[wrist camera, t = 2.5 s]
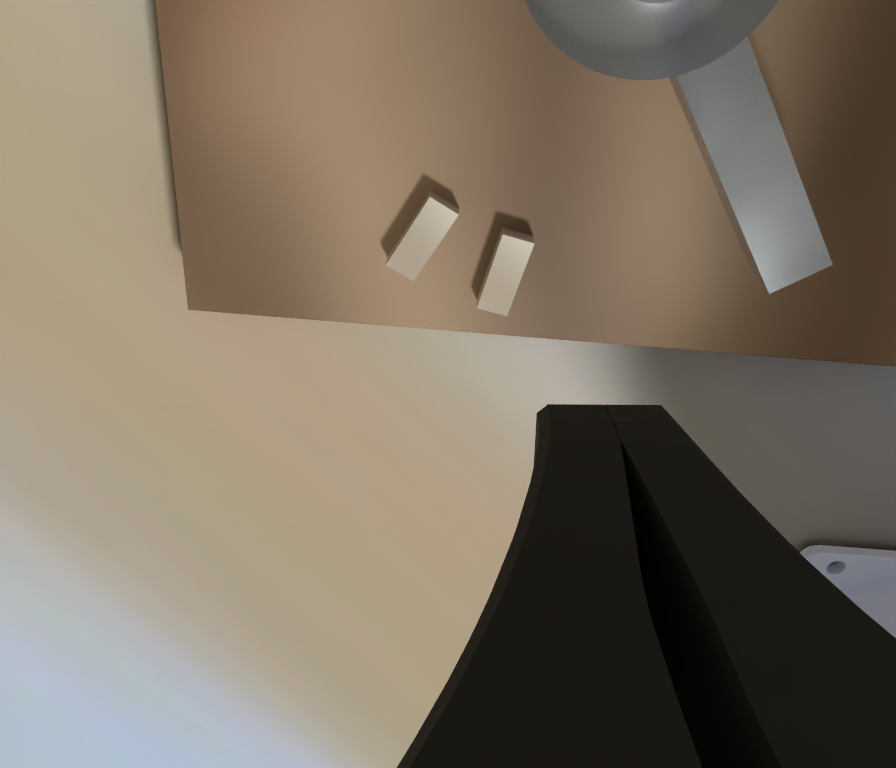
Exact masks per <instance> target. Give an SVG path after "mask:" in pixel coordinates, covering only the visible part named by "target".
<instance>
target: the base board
mask: <svg viewBox="0 0 896 768" xmlns="http://www.w3.org/2000/svg"><path fill="white" fill-rule="evenodd" d="M155 5H156V14H157V24H158V33H159V42H160V52H161V61H162V70H163V79H164V89H165V98H166V107H167V117H168V126H169V135H170V144H171V154H172V163H173V172H174V182H175V191H176V200H177V209H178V219H179V228H180V237H181V247H182V256H183V265H184V274H185V284H186V293H187V302H188V310H198V311H211V312H223V313H236V314H248V315H261V316H273V317H286V318H298V319H311V320H323V321H336V322H348V323H360V324H373V325H385V326H398V327H410V328H423V329H435V330H448V331H460V332H473V333H485V334H498V335H510V336H522V337H535V338H547V339H560V340H572V341H585V342H597V343H610V344H622V345H635V346H647V347H660V348H672V349H684V350H697V351H709V352H722V353H734V354H747V355H759V356H772V357H784V358H797V359H809V360H822V361H834V362H846V363H859V364H871V365H884V366H896V0H779V1H778V2H777V4H776V5H775V6H774V8H773V9H772V10H771V12H770V13H769V14H768V16H767V17H766V18H765V19H764V20H763V21H762V22H761V23H760V25H759V26H758V27H757V28H756V29H755V30H754V31H753V32H752V33H751V34H750V35H749V36H748V38H749V41H750V44H751V46H752V49H753V52H754V54H755V57H756V60H757V62H758V65H759V68H760V70H761V73H762V76H763V79H764V81H765V84H766V87H767V89H768V92H769V95H770V97H771V100H772V103H773V105H774V108H775V111H776V113H777V116H778V119H779V122H780V124H781V127H782V130H783V132H784V135H785V138H786V140H787V143H788V146H789V148H790V151H791V154H792V156H793V159H794V162H795V164H796V167H797V170H798V173H799V175H800V178H801V181H802V183H803V186H804V189H805V191H806V194H807V197H808V199H809V202H810V205H811V207H812V210H813V213H814V216H815V218H816V221H817V224H818V226H819V229H820V232H821V234H822V237H823V240H824V242H825V245H826V248H827V250H828V253H829V256H830V258H831V261H832V264H833V265H832V266H829V267H827V268H825V269H823V270H821V271H819V272H816V273H814V274H812V275H810V276H808V277H805V278H803V279H801V280H799V281H797V282H795V283H792V284H790V285H788V286H786V287H784V288H781V289H779V290H777V291H775V292H773V293H771V294H769V293H768V292H767V290H766V289H765V287H764V286H763V284H762V283H761V281H760V280H759V278H758V277H757V275H756V274H755V272H754V271H753V269H752V268H751V266H750V265H749V263H748V261H747V259H746V256H745V254H744V252H743V249H742V247H741V245H740V242H739V240H738V238H737V235H736V233H735V231H734V228H733V226H732V224H731V221H730V219H729V217H728V214H727V212H726V210H725V208H724V205H723V203H722V201H721V198H720V196H719V194H718V191H717V189H716V187H715V184H714V182H713V180H712V177H711V175H710V173H709V170H708V168H707V166H706V163H705V161H704V159H703V156H702V154H701V152H700V149H699V147H698V145H697V142H696V140H695V138H694V136H693V133H692V131H691V129H690V126H689V124H688V122H687V119H686V117H685V115H684V112H683V110H682V108H681V105H680V103H679V101H678V98H677V96H676V94H675V91H674V89H673V87H672V84H671V82H670V80H669V78H664V79H655V80H628V79H622V78H615V77H611V76H608V75H605V74H601V73H598V72H596V71H593V70H591V69H589V68H587V67H585V66H583V65H581V64H579V63H578V62H576V61H575V60H573V59H572V58H570V57H569V56H567V55H566V54H565V53H564V52H562V51H561V50H560V49H559V48H558V47H557V46H556V45H555V44H553V43H552V41H551V40H550V39H549V38H548V37H547V36H546V34H545V33H544V32H543V31H542V30H541V28H540V27H539V25H538V24H537V22H536V20H535V19H534V17H533V16H532V14H531V12H530V10H529V8H528V6H527V4H526V2H525V0H155Z"/></svg>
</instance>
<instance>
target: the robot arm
mask: <svg viewBox="0 0 896 768" xmlns="http://www.w3.org/2000/svg"><path fill="white" fill-rule="evenodd" d="M835 561H838V562H836V563H834V564H830V563H832V562H835ZM397 768H896V551H893V550H879V549H866V548H853V547H840V546H827V545H812V546H809V547H807V548H805V549H804V550H802V551H801V552H800V553H799V552H798V551H797V550H796V549H795V548H794V547H793V546H792V545H791V544H790V543H789V542H788V541H787V540H786V539H785V538H784V537H783V536H782V535H781V534H780V533H779V532H778V531H777V530H776V529H775V528H774V527H773V526H772V525H771V524H770V523H769V522H768V521H767V520H766V519H765V518H764V517H763V516H762V515H761V514H760V513H759V511H758V510H757V509H756V508H755V507H754V506H753V505H752V504H751V503H750V502H749V501H748V500H747V499H746V498H745V497H744V496H743V495H742V494H741V493H740V492H739V491H738V490H737V489H736V487H735V486H734V485H733V484H732V483H731V482H730V481H729V480H728V479H727V478H726V477H725V476H724V474H723V473H722V472H721V471H720V470H719V469H718V468H717V467H716V466H715V465H714V463H713V462H712V461H711V460H710V459H709V458H708V457H707V456H706V455H705V453H704V452H703V451H702V450H701V449H700V448H699V447H698V446H697V445H696V443H695V442H694V441H693V440H692V439H691V438H690V437H689V436H688V434H687V433H686V432H685V431H684V430H683V429H682V428H681V427H680V425H679V424H678V423H677V422H676V421H675V420H674V419H673V418H672V417H671V416H670V415H669V413H668V412H667V411H666V410H665V409H664V408H663V407H662V406H661V405H553V404H548V405H547V406H545V407H544V408H543V409H542V410H540V411H539V412H538V413H537V420H536V438H535V455H534V469H533V473H532V478H531V482H530V486H529V489H528V492H527V496H526V499H525V502H524V505H523V509H522V512H521V515H520V519H519V522H518V525H517V528H516V531H515V534H514V537H513V540H512V542H511V545H510V547H509V550H508V552H507V555H506V557H505V560H504V562H503V565H502V567H501V570H500V572H499V575H498V577H497V579H496V582H495V584H494V587H493V589H492V592H491V594H490V597H489V599H488V601H487V603H486V605H485V608H484V610H483V612H482V614H481V616H480V618H479V621H478V623H477V625H476V627H475V629H474V631H473V633H472V635H471V637H470V639H469V641H468V643H467V645H466V647H465V649H464V651H463V653H462V655H461V657H460V659H459V661H458V663H457V664H456V666H455V668H454V670H453V672H452V674H451V676H450V678H449V680H448V681H447V683H446V685H445V687H444V689H443V690H442V692H441V694H440V695H439V697H438V699H437V701H436V702H435V704H434V706H433V708H432V709H431V711H430V713H429V715H428V716H427V718H426V720H425V722H424V723H423V725H422V727H421V729H420V730H419V732H418V734H417V736H416V737H415V739H414V741H413V742H412V744H411V746H410V747H409V749H408V750H407V752H406V754H405V755H404V757H403V759H402V760H401V762H400V763H399V765H398V767H397Z"/></svg>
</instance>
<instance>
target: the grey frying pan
mask: <svg viewBox="0 0 896 768" xmlns="http://www.w3.org/2000/svg"><path fill="white" fill-rule="evenodd" d="M778 1H779V0H525V2H526V4H527V6H528V8H529V10H530V12H531V14H532V16H533V17H534V19H535V20H536V22H537V24H538V25H539V27H540V28H541V30H542V31H543V32H544V33H545V34H546V36H547V37H548V38H549V39H550V40H551V41H552V43H553V44H555V45H556V46H557V47H558V48H559V49H560V50H561V51H562V52H564V53H565V54H566V55H567V56H569V57H570V58H572V59H573V60H575V61H576V62H578V63H579V64H581V65H583V66H585V67H587V68H589V69H591V70H593V71H596V72H598V73H601V74H605V75H608V76H611V77H615V78H622V79H628V80H655V79H664V78H669V80H670V82H671V84H672V87H673V89H674V91H675V94H676V96H677V98H678V101H679V103H680V105H681V108H682V110H683V112H684V115H685V117H686V119H687V122H688V124H689V126H690V129H691V131H692V133H693V136H694V138H695V140H696V142H697V145H698V147H699V149H700V152H701V154H702V156H703V159H704V161H705V163H706V166H707V168H708V170H709V173H710V175H711V177H712V180H713V182H714V184H715V187H716V189H717V191H718V194H719V196H720V198H721V201H722V203H723V205H724V208H725V210H726V212H727V214H728V217H729V219H730V221H731V224H732V226H733V228H734V231H735V233H736V235H737V238H738V240H739V242H740V245H741V247H742V249H743V252H744V254H745V256H746V259H747V261H748V263H749V265H750V266H751V268H752V269H753V271H754V272H755V274H756V275H757V277H758V278H759V280H760V281H761V283H762V284H763V286H764V287H765V289H766V290H767V292H768V293H769V294H771V293H773V292H775V291H777V290H779V289H781V288H784V287H786V286H788V285H790V284H792V283H795V282H797V281H799V280H801V279H803V278H805V277H808V276H810V275H812V274H814V273H816V272H819V271H821V270H823V269H825V268H827V267H829V266H832V265H833V264H832V261H831V258H830V256H829V253H828V250H827V248H826V245H825V242H824V240H823V237H822V234H821V232H820V229H819V226H818V224H817V221H816V218H815V216H814V213H813V210H812V207H811V205H810V202H809V199H808V197H807V194H806V191H805V189H804V186H803V183H802V181H801V178H800V175H799V173H798V170H797V167H796V164H795V162H794V159H793V156H792V154H791V151H790V148H789V146H788V143H787V140H786V138H785V135H784V132H783V130H782V127H781V124H780V122H779V119H778V116H777V113H776V111H775V108H774V105H773V103H772V100H771V97H770V95H769V92H768V89H767V87H766V84H765V81H764V79H763V76H762V73H761V70H760V68H759V65H758V62H757V60H756V57H755V54H754V52H753V49H752V46H751V44H750V41H749V38H748V36H749V35H750V34H751V33H752V32H753V31H754V30H755V29H756V28H757V27H758V26H759V25H760V23H761V22H762V21H763V20H764V19H765V18H766V17H767V16H768V14H769V13H770V12H771V10H772V9H773V8H774V6H775V5H776V4H777V2H778Z"/></svg>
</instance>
